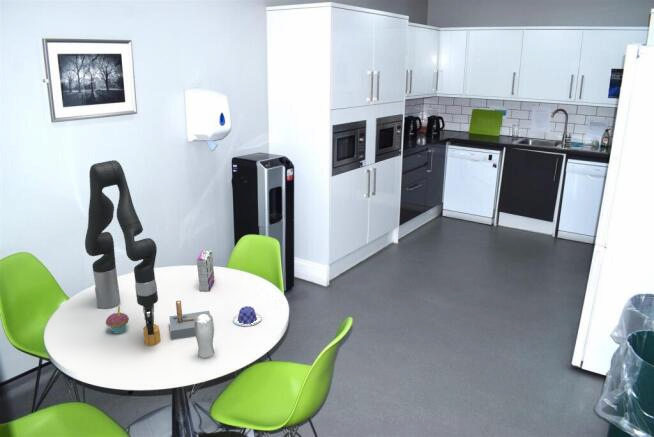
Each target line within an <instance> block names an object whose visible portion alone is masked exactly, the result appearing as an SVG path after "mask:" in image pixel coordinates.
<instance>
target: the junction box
mask: <svg viewBox="0 0 654 437" xmlns="http://www.w3.org/2000/svg"><path fill="white" fill-rule="evenodd" d="M201 314H209V315H211V312H210V310H204V311H203V310H202V311H198V312H197V311H196V312H191V313H189V312H188V313H184V314H183V313H182V317H183V322H182V323H178V320H177V314H176V315H175V314H174V315H171V316H169V327H170V338H171V341H172V340H173V341H174V340H180V339H186V338H192V337H196V336H195V330H194V318H195V317H196V316H198V315H201Z"/></svg>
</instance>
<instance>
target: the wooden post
mask: <svg viewBox="0 0 654 437" xmlns="http://www.w3.org/2000/svg"><path fill="white" fill-rule="evenodd" d="M175 309H176V315H177V320H178V323H182V322H183V317H182V314H183V309H182V301H181V300H176V301H175Z"/></svg>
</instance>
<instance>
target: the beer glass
mask: <svg viewBox="0 0 654 437" xmlns="http://www.w3.org/2000/svg"><path fill="white" fill-rule="evenodd" d="M214 324H215V323H214V318H213V316H212V315H211V314H210V315H209V314H201V315H198V316H196V317H195V318H194V330H195V336H194V337H195V338H196V343H197V347H198V348H197V350H198V351H197V356H198V357H199V358H200V359H210V358H212V357H213V356H214V355H215V350H214V336H215V326H214Z"/></svg>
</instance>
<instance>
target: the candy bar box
mask: <svg viewBox="0 0 654 437" xmlns="http://www.w3.org/2000/svg"><path fill="white" fill-rule="evenodd" d="M196 266H197V276H198V277H197V278H198V286H199V288H198V289H199V292H211V289H212V287H213V286H214V283H215V271H214V261H213V250H202V251H201V252H200V254H199V255H198V257H197V258H196Z"/></svg>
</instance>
